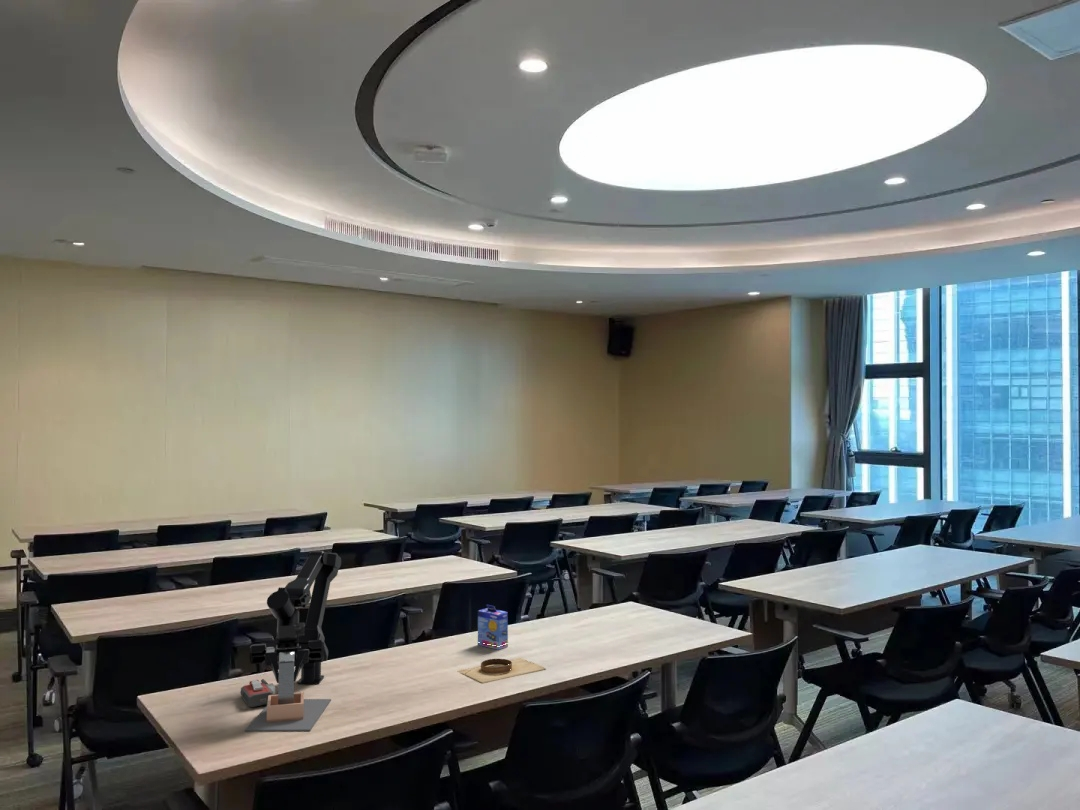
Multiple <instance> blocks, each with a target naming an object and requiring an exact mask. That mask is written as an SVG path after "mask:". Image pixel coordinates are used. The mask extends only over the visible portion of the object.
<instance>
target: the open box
mask: <svg viewBox="0 0 1080 810" xmlns="http://www.w3.org/2000/svg"><path fill="white" fill-rule="evenodd" d="M304 694H305V693H304V692H303V691H302V692H294V703H293V704H282V705H278V694H274V695H268V703H267V704H266V706H267V723H269V722H280V721H290V720H301V719H303V707H304V699H305V698H304V697H305V696H304Z"/></svg>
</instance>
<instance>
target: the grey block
mask: <svg viewBox="0 0 1080 810" xmlns="http://www.w3.org/2000/svg"><path fill="white" fill-rule="evenodd" d="M294 657H295V651H293V652H279V656H278V672H279V683H277V684H278V688H277V689H278V691H277V693H278V694H277V695H278V705H282V704H293V703H294V693H295V682H294V671H295V659H294Z"/></svg>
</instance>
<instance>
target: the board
mask: <svg viewBox="0 0 1080 810" xmlns="http://www.w3.org/2000/svg"><path fill="white" fill-rule="evenodd" d="M508 664H509V665H508ZM510 669H511V670H510ZM546 670H547V668H545V667H544V666H542V665H540V664H539V663H538V664H537V663H535V662H532V661H528V660H527V659H524V658H522V657H521V658H519V657H518V658H514V659H506V658H489V659H485V660H483V661H481V662H480V666H476V667H471V668H466V669H461V670H457V673H460V674H461V675H463V676H465V677H466V678H469V679H471V680H473V681H475V682H477V683H479V684H487V683H493V682H496V681H501V680H505V679H510V678H514V677H520V676H523V675H528V674H533V673H538V672H542V671H546Z"/></svg>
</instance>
